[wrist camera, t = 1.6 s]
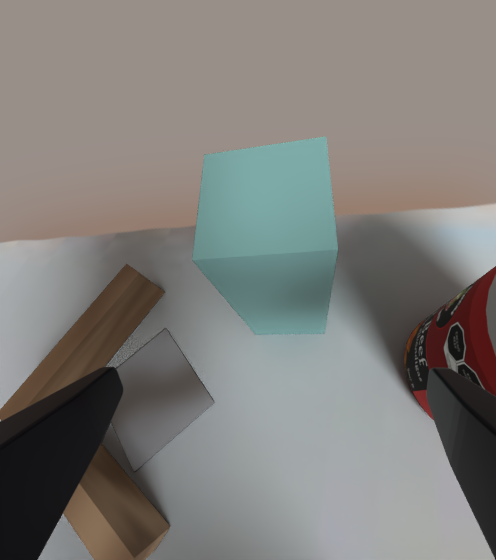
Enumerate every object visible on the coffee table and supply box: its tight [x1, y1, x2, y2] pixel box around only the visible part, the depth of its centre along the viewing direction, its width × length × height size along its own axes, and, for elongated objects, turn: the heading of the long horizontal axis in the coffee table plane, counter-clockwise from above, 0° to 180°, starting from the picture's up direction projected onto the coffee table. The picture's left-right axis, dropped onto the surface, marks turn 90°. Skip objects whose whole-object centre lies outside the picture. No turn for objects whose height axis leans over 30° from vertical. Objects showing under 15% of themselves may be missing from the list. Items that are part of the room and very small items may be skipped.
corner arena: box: [0, 264, 215, 560], centre depth 19 cm, size 13×13×4 cm
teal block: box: [192, 137, 338, 335], centre depth 16 cm, size 5×5×12 cm
